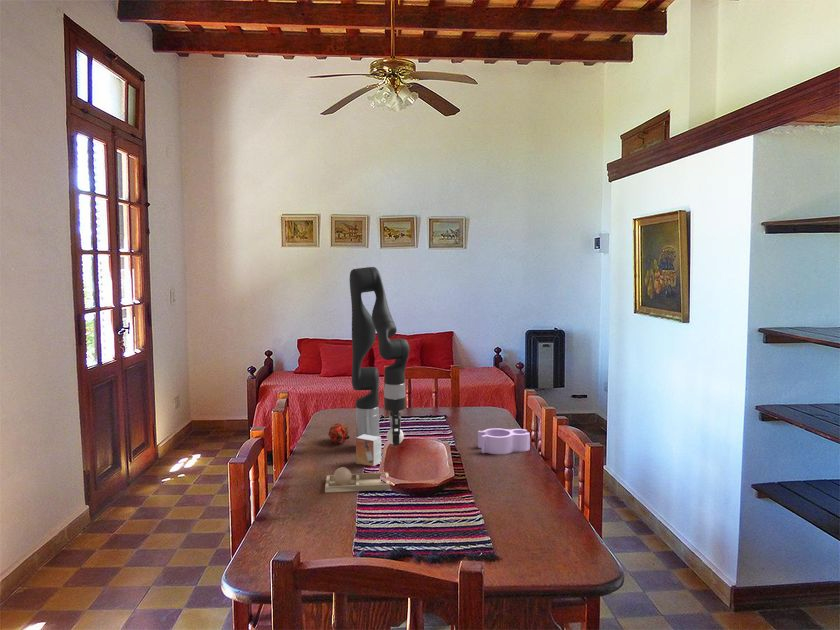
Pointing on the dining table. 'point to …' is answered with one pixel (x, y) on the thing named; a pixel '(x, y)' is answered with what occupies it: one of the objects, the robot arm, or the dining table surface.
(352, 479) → the beige divided tray
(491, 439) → the lavender double cup holder
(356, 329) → the robot arm
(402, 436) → the white ball
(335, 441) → the dragon fruit
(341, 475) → the beige ball
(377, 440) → the small box
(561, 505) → the dining table surface
